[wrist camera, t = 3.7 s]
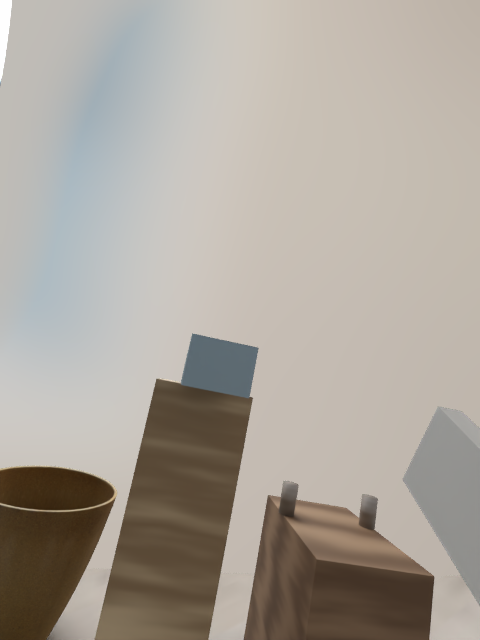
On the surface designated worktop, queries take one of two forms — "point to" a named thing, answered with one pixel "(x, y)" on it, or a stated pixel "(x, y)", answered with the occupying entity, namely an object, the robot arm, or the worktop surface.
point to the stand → (176, 516)
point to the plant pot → (46, 543)
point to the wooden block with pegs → (334, 577)
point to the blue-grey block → (219, 366)
